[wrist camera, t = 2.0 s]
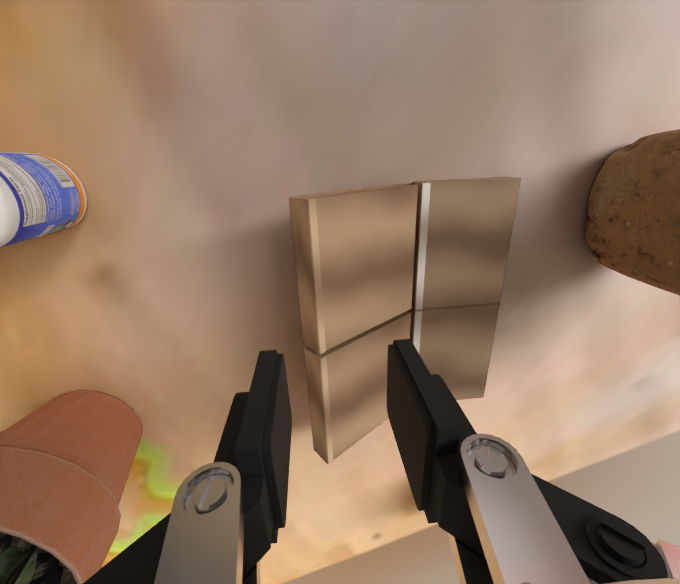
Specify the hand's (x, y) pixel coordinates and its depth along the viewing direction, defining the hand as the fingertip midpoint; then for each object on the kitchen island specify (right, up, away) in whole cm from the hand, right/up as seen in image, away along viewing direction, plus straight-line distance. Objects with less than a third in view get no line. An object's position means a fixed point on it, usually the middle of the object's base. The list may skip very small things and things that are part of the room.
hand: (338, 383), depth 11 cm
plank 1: (+1, +5, +13) cm, 14 cm away
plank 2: (+1, -4, +17) cm, 18 cm away
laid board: (+10, +3, +19) cm, 21 cm away
